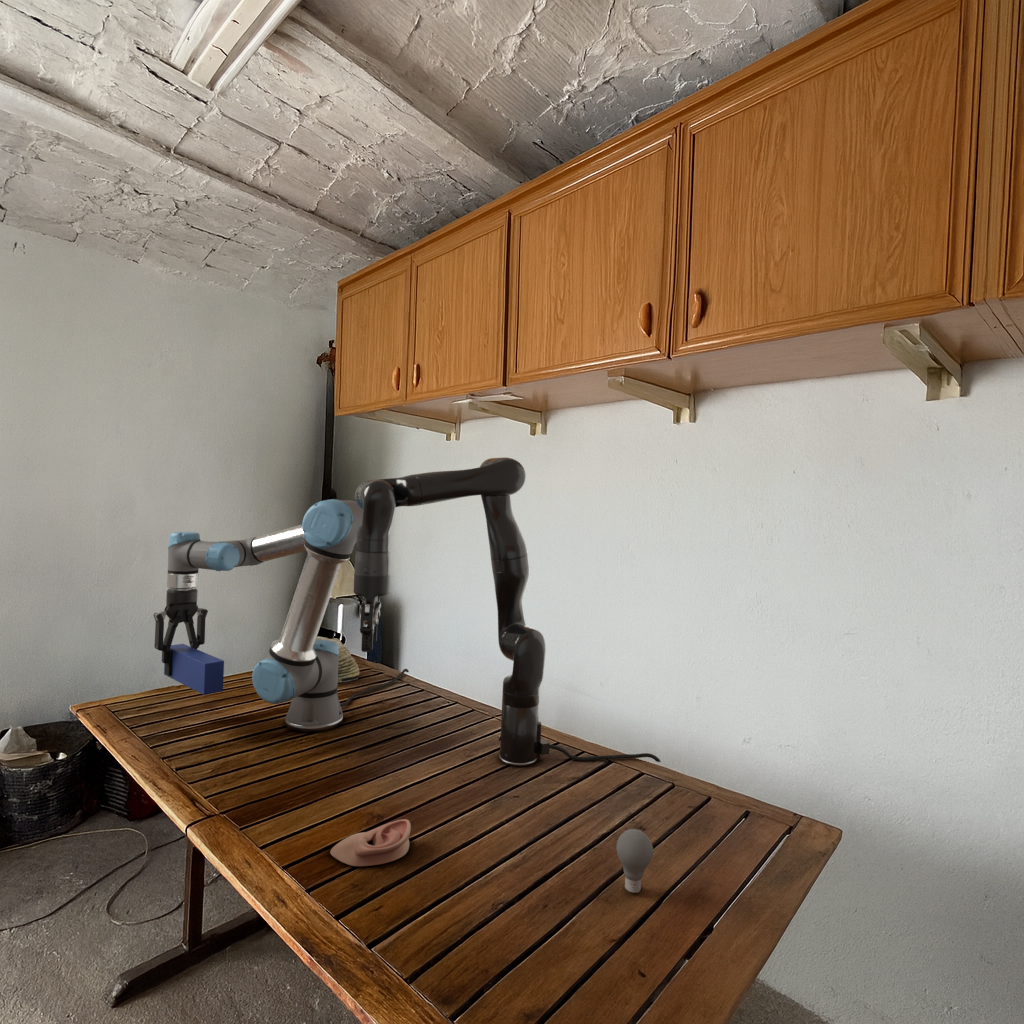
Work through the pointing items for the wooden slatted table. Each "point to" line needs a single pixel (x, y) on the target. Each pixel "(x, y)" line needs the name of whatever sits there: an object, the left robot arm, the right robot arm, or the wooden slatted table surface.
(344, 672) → the fossil
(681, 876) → the wooden slatted table surface
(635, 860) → the light bulb
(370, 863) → the anatomical model
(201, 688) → the bar
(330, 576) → the left robot arm
